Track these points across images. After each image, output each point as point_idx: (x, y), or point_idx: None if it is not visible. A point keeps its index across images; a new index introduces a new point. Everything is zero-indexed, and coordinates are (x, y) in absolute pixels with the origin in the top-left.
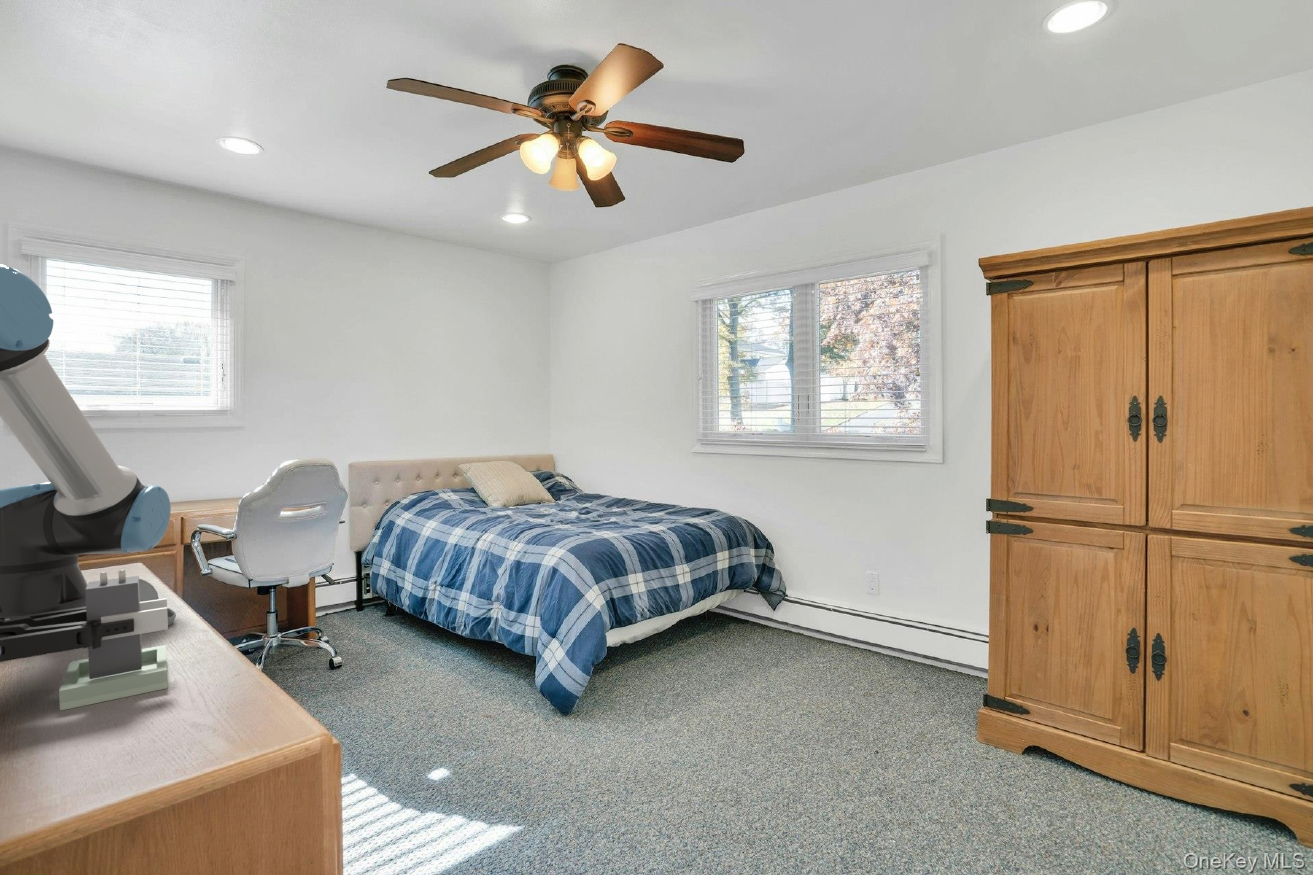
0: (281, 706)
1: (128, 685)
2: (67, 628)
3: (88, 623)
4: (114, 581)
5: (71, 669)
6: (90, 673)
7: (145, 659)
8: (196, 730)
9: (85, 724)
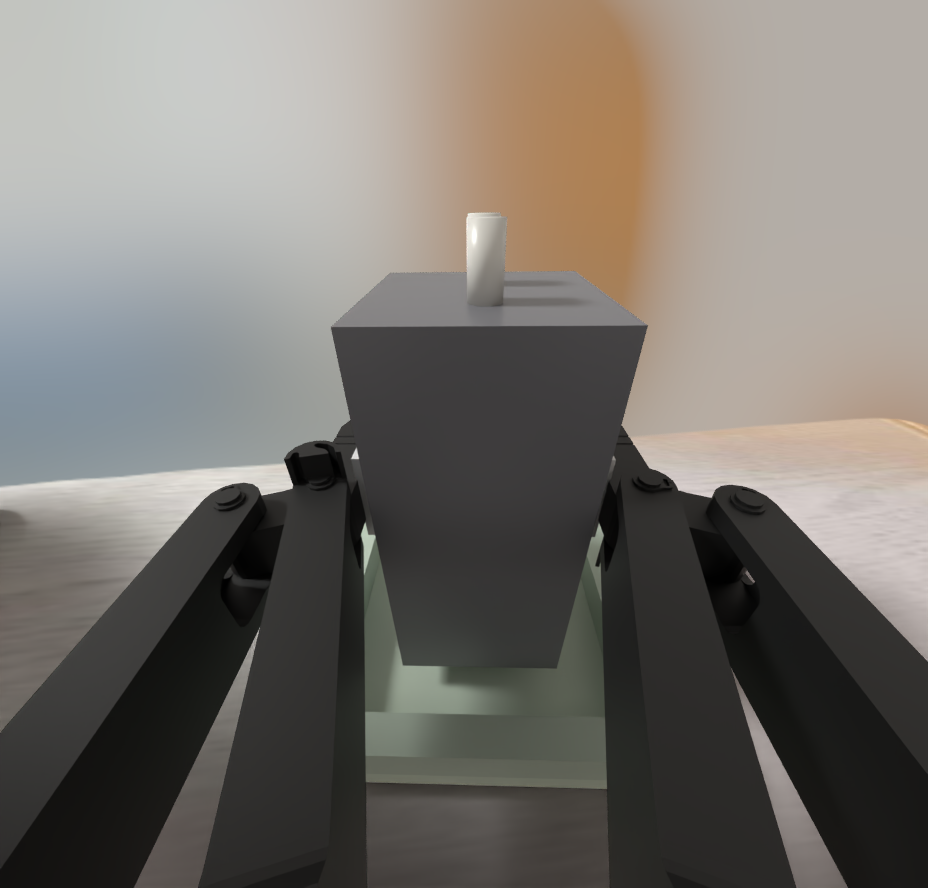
0: (763, 430)
1: None
2: (792, 564)
3: (678, 497)
4: (462, 291)
5: (400, 737)
6: (559, 654)
7: (378, 551)
8: (874, 505)
9: None
